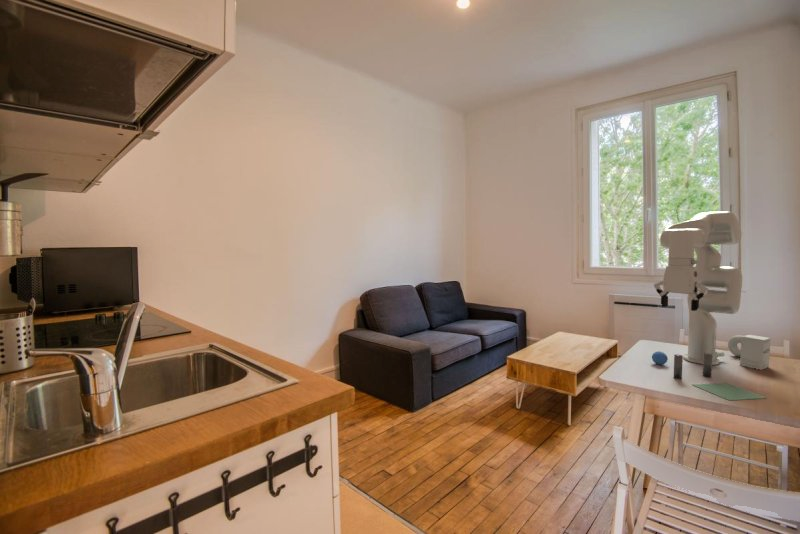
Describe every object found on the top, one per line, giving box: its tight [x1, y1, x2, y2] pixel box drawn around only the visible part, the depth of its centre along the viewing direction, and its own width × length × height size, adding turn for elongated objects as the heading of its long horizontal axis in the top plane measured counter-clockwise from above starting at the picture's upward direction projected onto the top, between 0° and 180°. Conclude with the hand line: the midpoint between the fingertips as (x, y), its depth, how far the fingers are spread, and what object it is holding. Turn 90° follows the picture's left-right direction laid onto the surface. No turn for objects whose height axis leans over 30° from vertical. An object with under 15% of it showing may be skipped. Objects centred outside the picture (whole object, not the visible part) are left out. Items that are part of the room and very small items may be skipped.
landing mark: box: [692, 382, 767, 402], centre depth 134 cm, size 14×14×1 cm
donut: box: [727, 335, 743, 358], centre depth 173 cm, size 10×4×10 cm, turn 18°
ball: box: [651, 350, 669, 366], centre depth 163 cm, size 6×6×6 cm
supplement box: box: [739, 334, 772, 371], centre depth 160 cm, size 7×7×13 cm
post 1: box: [673, 354, 684, 381], centre depth 147 cm, size 3×3×9 cm
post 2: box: [702, 353, 713, 379], centre depth 148 cm, size 3×3×9 cm
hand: (679, 308), depth 142 cm, fingers open, 9 cm apart
